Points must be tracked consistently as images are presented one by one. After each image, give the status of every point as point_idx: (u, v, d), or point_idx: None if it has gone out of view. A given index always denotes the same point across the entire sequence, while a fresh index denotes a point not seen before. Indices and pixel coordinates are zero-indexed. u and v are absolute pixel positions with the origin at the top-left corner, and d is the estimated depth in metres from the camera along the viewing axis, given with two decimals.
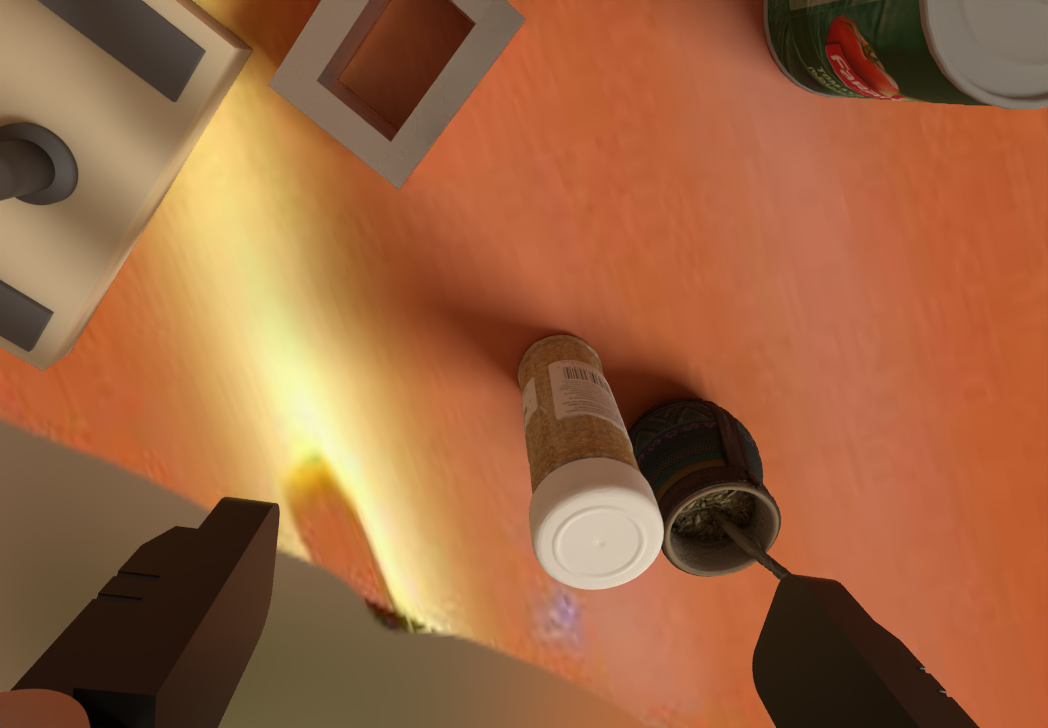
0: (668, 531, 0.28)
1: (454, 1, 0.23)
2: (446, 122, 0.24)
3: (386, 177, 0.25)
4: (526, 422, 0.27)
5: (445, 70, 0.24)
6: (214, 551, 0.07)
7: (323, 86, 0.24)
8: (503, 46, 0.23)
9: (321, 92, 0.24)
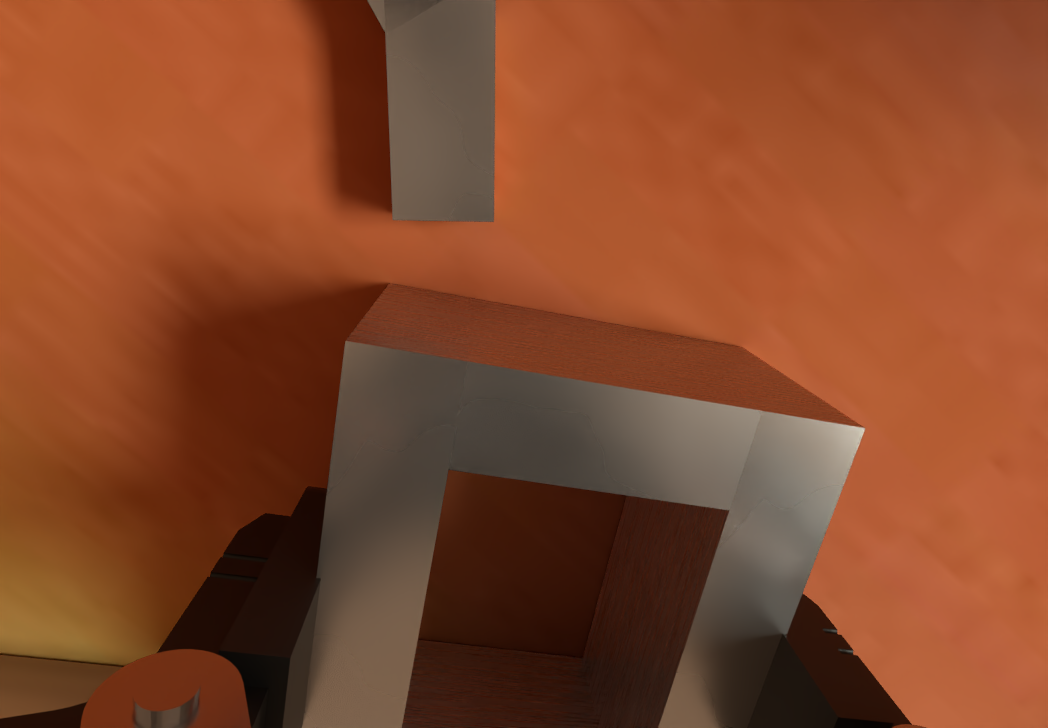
0: None
1: (648, 494, 0.07)
2: None
3: None
4: None
5: (691, 644, 0.08)
6: (311, 535, 0.08)
7: None
8: (828, 520, 0.08)
9: None
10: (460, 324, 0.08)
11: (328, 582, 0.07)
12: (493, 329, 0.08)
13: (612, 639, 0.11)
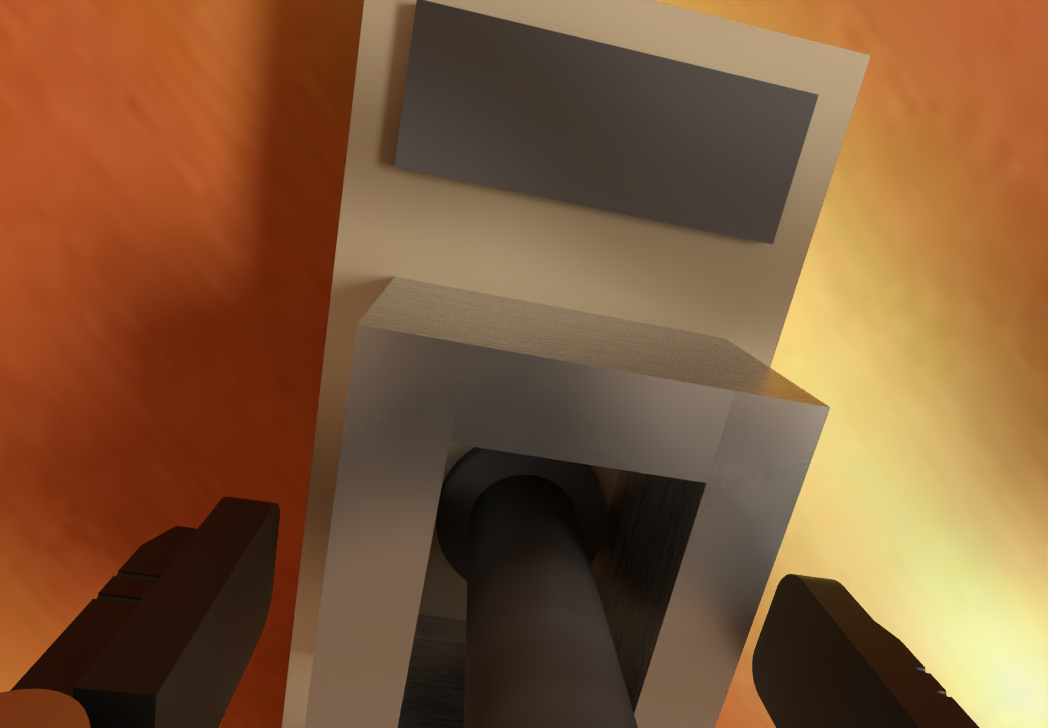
0: None
1: (631, 467, 0.08)
2: (720, 698, 0.09)
3: None
4: None
5: (673, 608, 0.09)
6: (214, 551, 0.07)
7: None
8: (797, 493, 0.08)
9: None
10: (461, 313, 0.09)
11: (339, 547, 0.08)
12: (491, 317, 0.09)
13: None
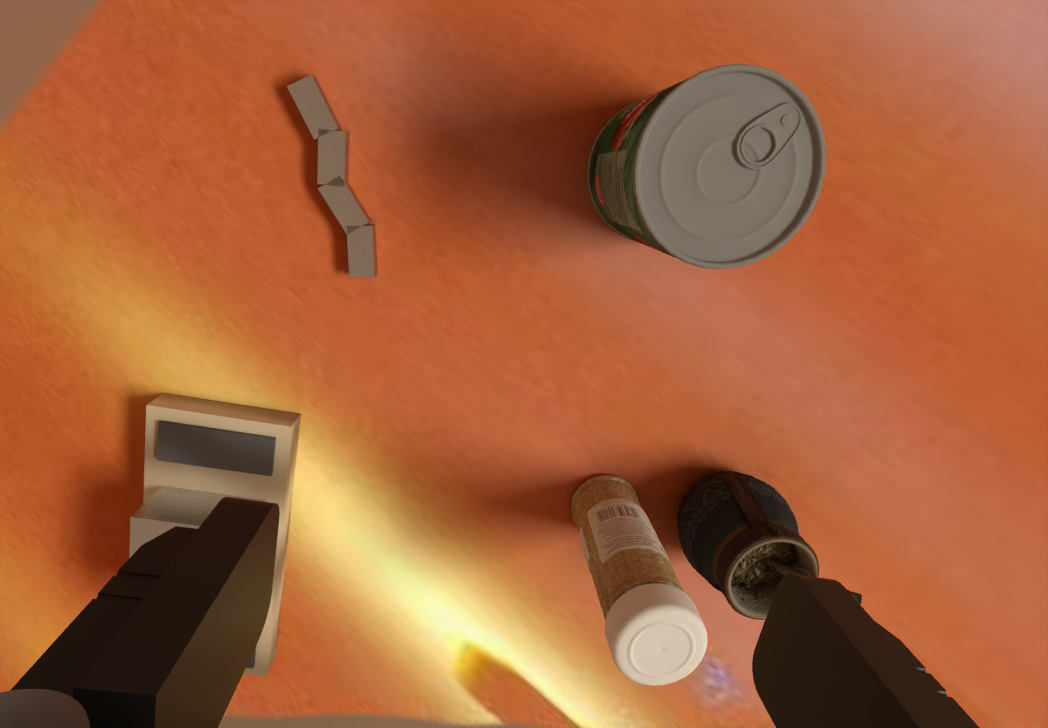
0: (731, 597, 0.35)
1: None
2: None
3: None
4: (588, 567, 0.35)
5: None
6: (214, 551, 0.07)
7: None
8: None
9: None
10: (167, 504, 0.35)
11: None
12: (176, 505, 0.35)
13: None
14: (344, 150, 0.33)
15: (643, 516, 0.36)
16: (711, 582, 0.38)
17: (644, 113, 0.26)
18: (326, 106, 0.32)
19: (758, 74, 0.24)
